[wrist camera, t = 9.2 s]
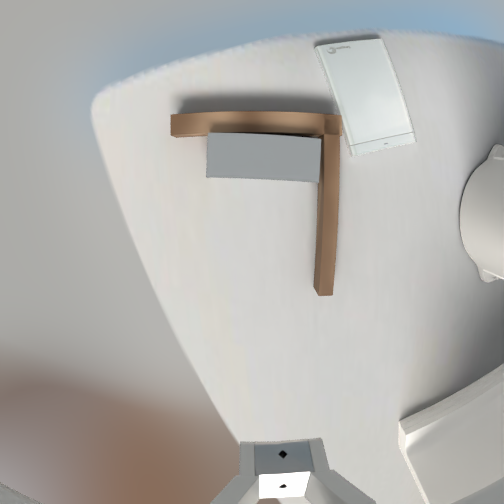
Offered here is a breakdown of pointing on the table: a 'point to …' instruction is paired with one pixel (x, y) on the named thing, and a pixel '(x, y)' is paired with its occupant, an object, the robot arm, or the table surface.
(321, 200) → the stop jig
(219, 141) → the block
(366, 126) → the hard drive
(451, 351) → the table surface
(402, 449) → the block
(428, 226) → the table surface
